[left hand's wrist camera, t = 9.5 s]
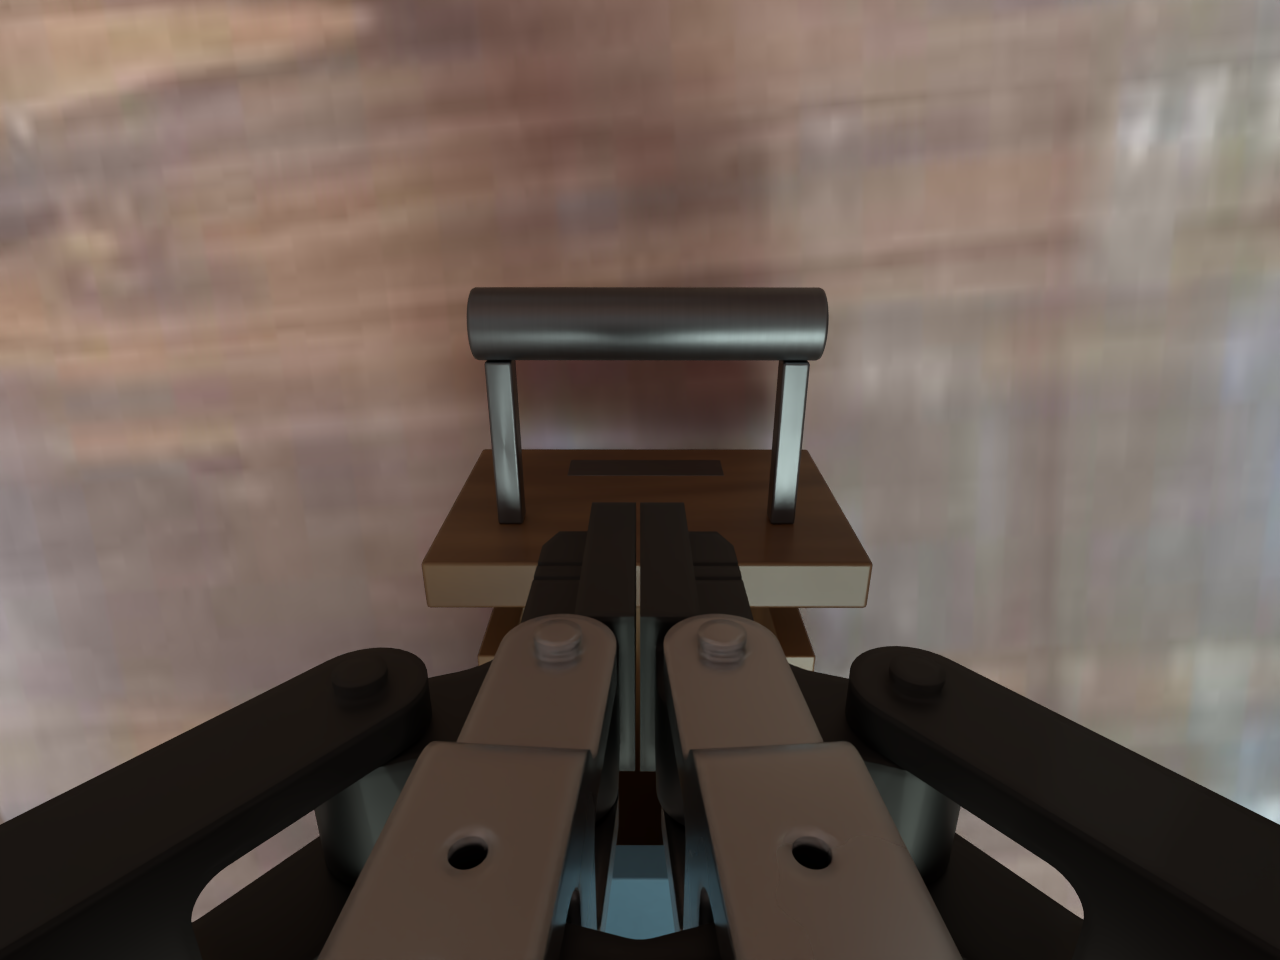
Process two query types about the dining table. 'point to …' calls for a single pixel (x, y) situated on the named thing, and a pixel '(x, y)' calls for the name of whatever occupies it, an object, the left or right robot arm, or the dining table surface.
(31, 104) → the dining table surface
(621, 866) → the blue box
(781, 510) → the drawer
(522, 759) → the left robot arm
